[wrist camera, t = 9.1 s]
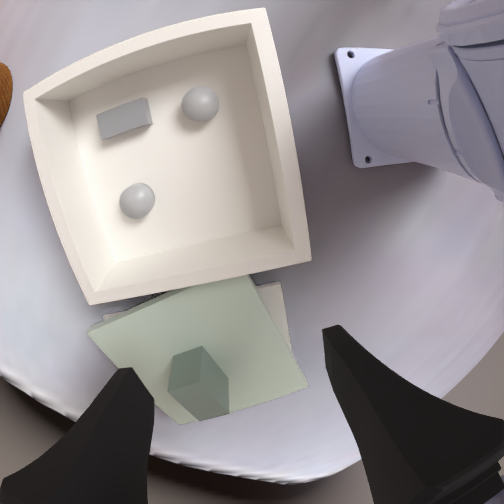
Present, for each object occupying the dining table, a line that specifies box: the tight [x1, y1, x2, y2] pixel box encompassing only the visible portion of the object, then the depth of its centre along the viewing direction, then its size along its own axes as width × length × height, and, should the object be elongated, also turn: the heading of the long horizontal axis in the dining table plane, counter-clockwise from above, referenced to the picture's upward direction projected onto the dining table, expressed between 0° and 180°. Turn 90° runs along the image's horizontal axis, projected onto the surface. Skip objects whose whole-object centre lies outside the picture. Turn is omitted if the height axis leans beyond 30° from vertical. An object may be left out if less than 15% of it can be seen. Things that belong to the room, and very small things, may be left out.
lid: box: [87, 274, 309, 425], centre depth 20 cm, size 13×13×5 cm
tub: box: [23, 8, 312, 305], centre depth 14 cm, size 13×13×4 cm
